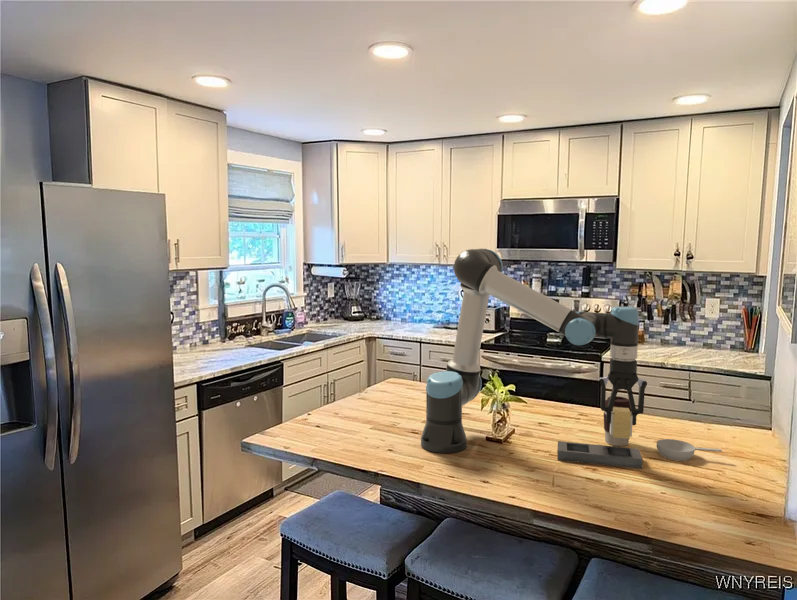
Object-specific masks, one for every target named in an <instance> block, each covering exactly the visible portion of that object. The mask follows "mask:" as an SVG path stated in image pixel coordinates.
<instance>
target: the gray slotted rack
mask: <svg viewBox="0 0 797 600" xmlns="http://www.w3.org/2000/svg"><path fill="white" fill-rule="evenodd" d="M556 455H557V461H562V462H573V463H579V464H581V463H583V464H591V465H601V466H602V465H603V466H610V467H611V466H612V467H620V468H629V469H637V470H643V462H644V461H643V460H644V459H643V457H642V454H641V451H640V449H639V448H636V447H635V448H634V447H626V446H614V445H602V444H595V443H593V444H592V443H583V442H582V443H581V442H569V441H562V440H561V441H560V440H557V454H556Z"/></svg>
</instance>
